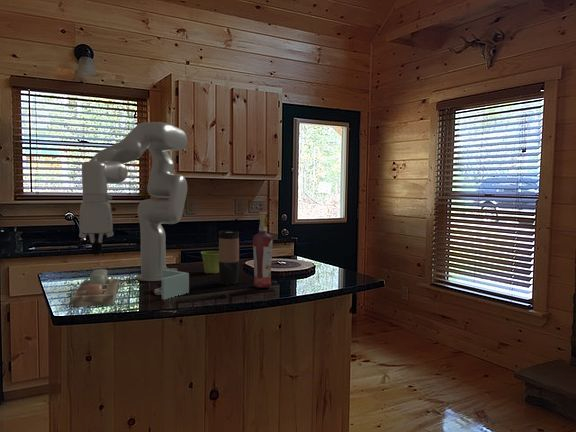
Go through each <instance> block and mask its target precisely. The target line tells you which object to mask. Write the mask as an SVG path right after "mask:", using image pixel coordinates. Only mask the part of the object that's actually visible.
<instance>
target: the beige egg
mask: <svg viewBox="0 0 576 432" xmlns="http://www.w3.org/2000/svg"><path fill="white" fill-rule="evenodd" d="M92 274H105V284H107V279H108V269H102V268H101V269H100V268H99V269H94V270H92Z"/></svg>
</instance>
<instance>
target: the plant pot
mask: <svg viewBox="0 0 576 432" xmlns="http://www.w3.org/2000/svg"><path fill="white" fill-rule="evenodd" d="M200 254H201V257H202V262H203V269H204V270H203V272H204V273H205V274H213V273H214V274H219V250H206V251H205V250H203V251H201V252H200Z"/></svg>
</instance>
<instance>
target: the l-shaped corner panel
mask: <svg viewBox="0 0 576 432" xmlns="http://www.w3.org/2000/svg"><path fill="white" fill-rule="evenodd" d="M161 279H162V280H161V287H159V288H154V290H153V292H154V294H155V296H159V295H161V300H162V299H163V301H165V300H168V298H169V299H171V297H172V298H175V296H176V297H178V295H179V296H183V295H185V294H186V293H187V294H190V273H189V272H184V271H178V270H177V271H172V270H165V269H163V270H162V278H161Z"/></svg>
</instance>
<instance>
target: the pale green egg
mask: <svg viewBox="0 0 576 432" xmlns="http://www.w3.org/2000/svg"><path fill="white" fill-rule="evenodd" d="M89 280H90V284H102V287H103V289H105V274H93V273H92V274H90V275H89Z"/></svg>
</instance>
